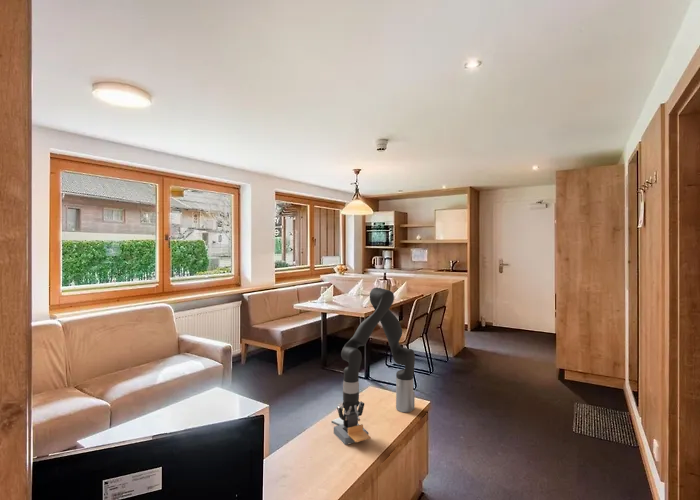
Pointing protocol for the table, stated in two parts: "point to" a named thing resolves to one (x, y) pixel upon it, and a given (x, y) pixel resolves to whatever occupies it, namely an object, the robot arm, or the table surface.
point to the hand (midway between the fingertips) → (350, 426)
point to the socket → (344, 434)
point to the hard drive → (339, 421)
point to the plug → (352, 419)
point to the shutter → (358, 433)
